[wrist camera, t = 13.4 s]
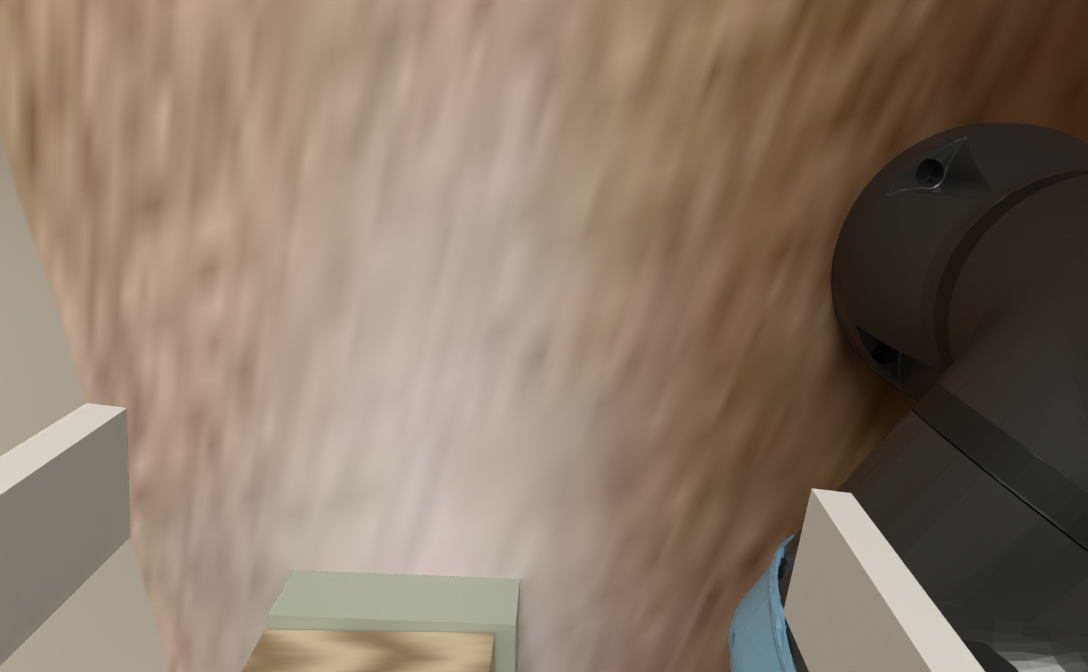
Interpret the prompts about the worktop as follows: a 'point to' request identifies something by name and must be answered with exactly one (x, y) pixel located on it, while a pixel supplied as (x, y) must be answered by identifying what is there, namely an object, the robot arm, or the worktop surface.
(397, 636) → the slab top
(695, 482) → the worktop surface
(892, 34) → the worktop surface
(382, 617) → the slab bottom
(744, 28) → the worktop surface
